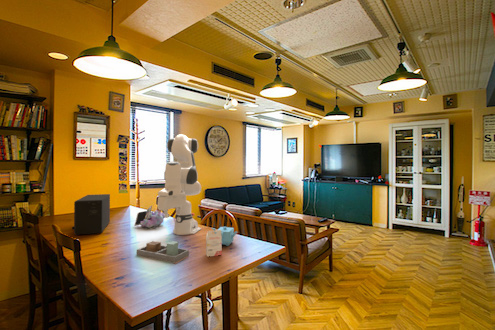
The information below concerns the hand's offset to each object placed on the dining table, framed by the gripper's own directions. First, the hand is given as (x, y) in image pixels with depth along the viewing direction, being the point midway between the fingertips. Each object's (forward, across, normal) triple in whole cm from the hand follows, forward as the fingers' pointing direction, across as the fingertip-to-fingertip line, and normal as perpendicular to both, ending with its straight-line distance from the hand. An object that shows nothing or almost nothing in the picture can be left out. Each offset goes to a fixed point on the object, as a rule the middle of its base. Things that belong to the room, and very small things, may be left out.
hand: (172, 215), depth 141 cm
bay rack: (+24, 0, -7) cm, 25 cm away
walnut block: (+23, 0, -13) cm, 27 cm away
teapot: (+24, -34, +14) cm, 44 cm away
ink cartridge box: (+24, -14, +18) cm, 33 cm away
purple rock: (+24, -47, -61) cm, 80 cm away
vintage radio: (+24, -22, -96) cm, 101 cm away
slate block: (+23, 0, 0) cm, 23 cm away
